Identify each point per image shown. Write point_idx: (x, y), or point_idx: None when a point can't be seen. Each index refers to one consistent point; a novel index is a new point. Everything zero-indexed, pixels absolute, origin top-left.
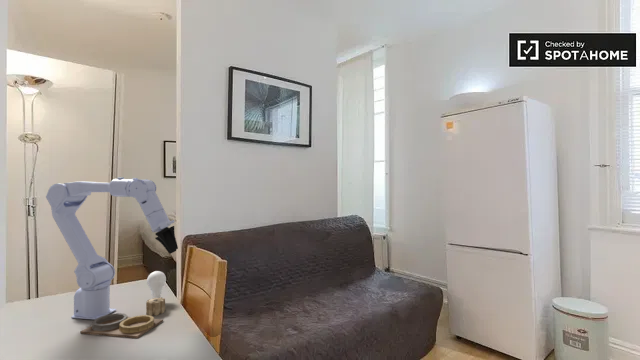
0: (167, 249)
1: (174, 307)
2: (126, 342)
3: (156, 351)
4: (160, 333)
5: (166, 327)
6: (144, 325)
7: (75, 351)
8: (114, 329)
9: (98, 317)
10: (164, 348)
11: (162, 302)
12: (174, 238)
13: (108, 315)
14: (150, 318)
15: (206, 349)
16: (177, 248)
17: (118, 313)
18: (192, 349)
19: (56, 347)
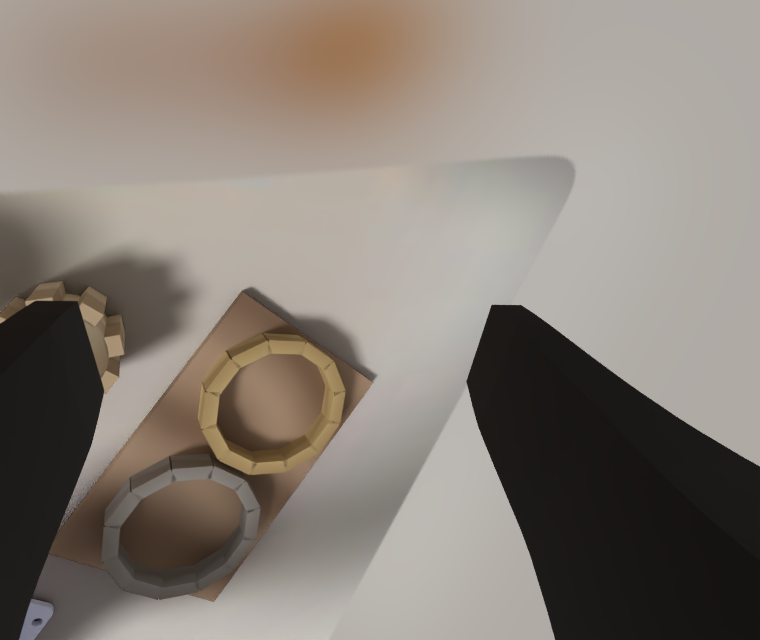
0: (70, 472)
1: (2, 218)
2: (383, 408)
3: None
4: (370, 300)
5: (322, 276)
6: (336, 370)
7: (366, 540)
8: (261, 480)
9: (42, 608)
10: (487, 286)
11: (99, 310)
12: (667, 427)
13: (119, 560)
14: (265, 354)
15: (560, 162)
16: (523, 313)
17: (110, 522)
18: (538, 203)
19: (305, 611)
